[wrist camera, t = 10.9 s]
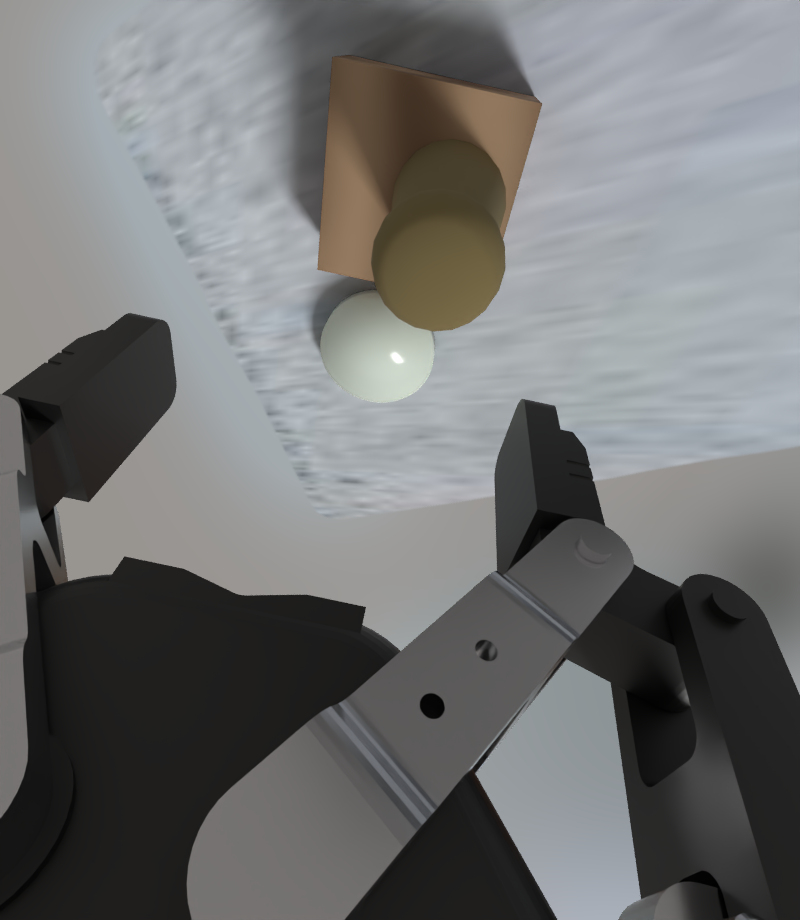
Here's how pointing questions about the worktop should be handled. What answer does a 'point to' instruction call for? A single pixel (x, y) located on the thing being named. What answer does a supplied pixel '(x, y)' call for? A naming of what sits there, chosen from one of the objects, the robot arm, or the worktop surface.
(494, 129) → the walnut plinth
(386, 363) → the white domed disc
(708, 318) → the worktop surface
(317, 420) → the worktop surface
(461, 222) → the olive stamp handle
